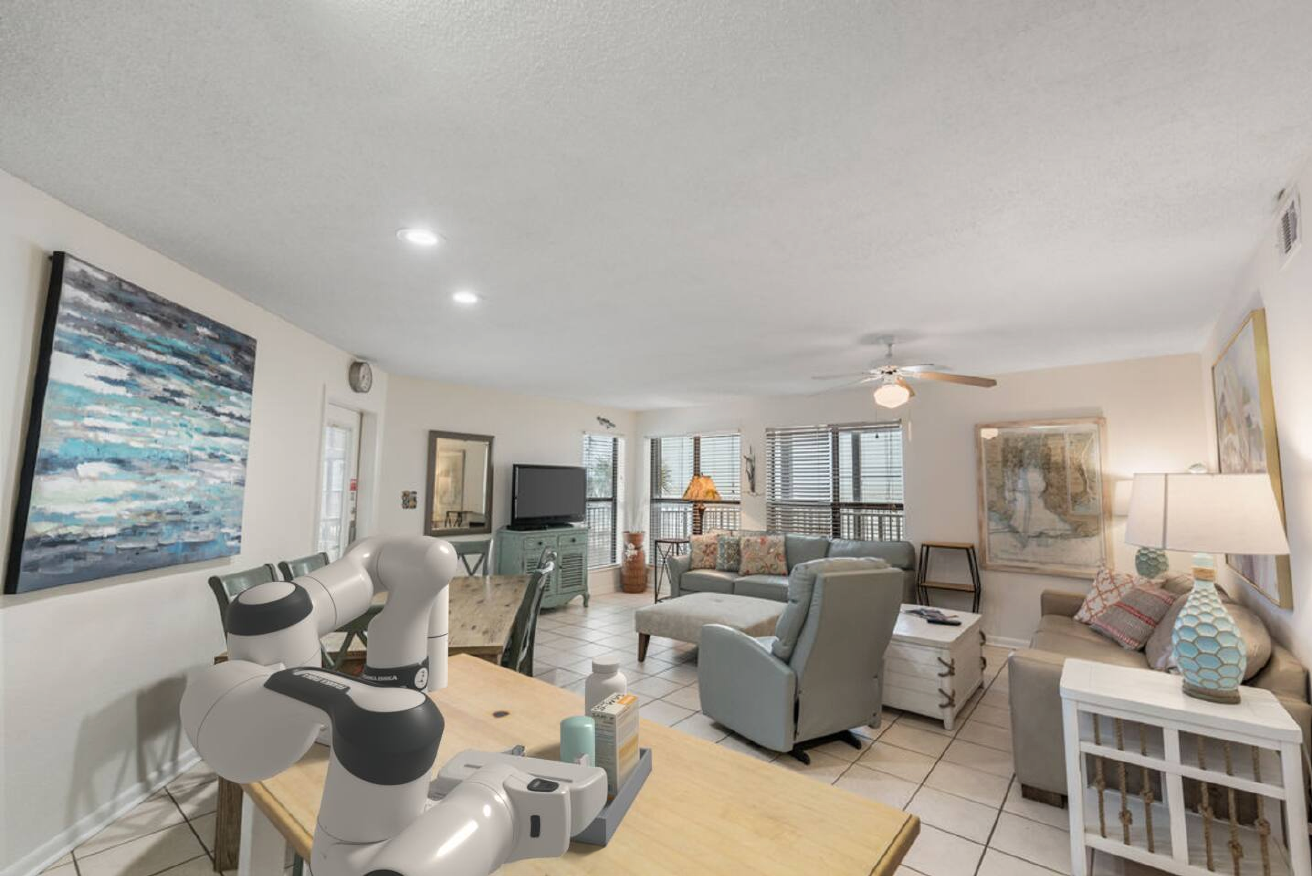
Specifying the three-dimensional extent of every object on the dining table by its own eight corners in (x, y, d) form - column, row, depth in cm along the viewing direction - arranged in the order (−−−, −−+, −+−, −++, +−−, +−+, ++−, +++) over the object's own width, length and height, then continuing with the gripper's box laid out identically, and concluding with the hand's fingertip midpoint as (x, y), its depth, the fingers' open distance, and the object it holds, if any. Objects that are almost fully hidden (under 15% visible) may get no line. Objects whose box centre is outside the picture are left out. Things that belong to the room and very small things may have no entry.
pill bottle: (621, 752, 102) (620, 667, 104) (579, 749, 104) (578, 665, 105) (631, 733, 110) (630, 654, 111) (592, 731, 112) (591, 653, 113)
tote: (524, 832, 79) (524, 805, 79) (585, 761, 99) (585, 740, 99) (606, 846, 75) (605, 818, 76) (651, 769, 96) (651, 748, 96)
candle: (554, 823, 80) (554, 727, 81) (569, 804, 84) (569, 714, 86) (587, 828, 78) (586, 731, 79) (600, 809, 83) (599, 717, 84)
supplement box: (615, 772, 94) (614, 690, 95) (641, 778, 92) (639, 694, 93) (589, 797, 86) (588, 708, 87) (617, 804, 84) (616, 713, 86)
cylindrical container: (410, 691, 136) (412, 585, 138) (426, 681, 143) (428, 580, 145) (437, 692, 135) (439, 585, 137) (452, 682, 142) (454, 581, 144)
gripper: (411, 827, 64) (482, 769, 77) (577, 859, 58) (623, 791, 71) (413, 768, 64) (483, 721, 77) (577, 794, 58) (623, 738, 72)
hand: (551, 754), depth 74 cm, fingers open, 8 cm apart
